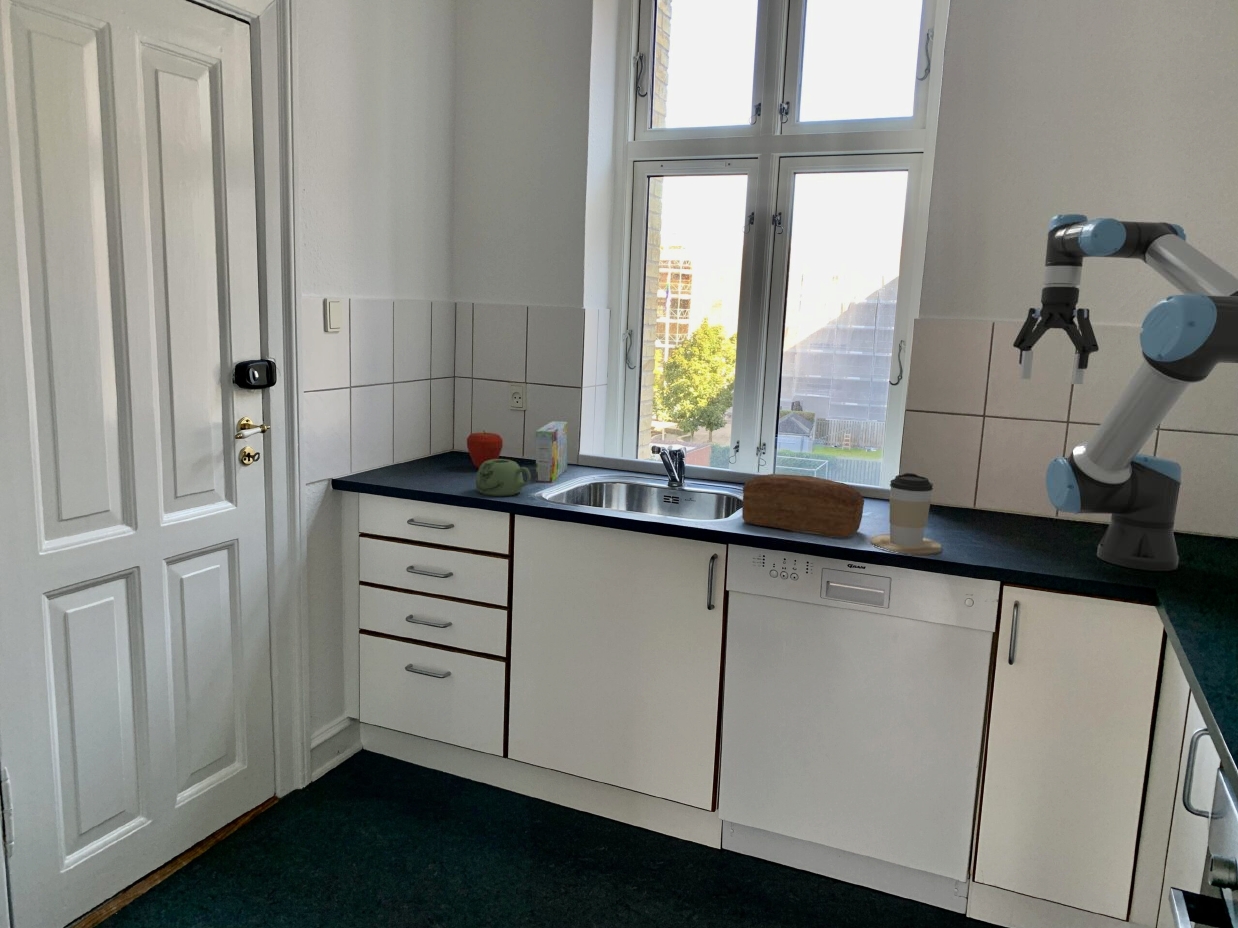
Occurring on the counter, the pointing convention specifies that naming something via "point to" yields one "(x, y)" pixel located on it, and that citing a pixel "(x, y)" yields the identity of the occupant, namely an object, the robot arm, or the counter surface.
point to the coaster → (925, 549)
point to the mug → (501, 477)
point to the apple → (484, 447)
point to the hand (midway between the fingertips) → (1050, 381)
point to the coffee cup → (909, 508)
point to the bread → (802, 504)
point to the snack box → (551, 451)
